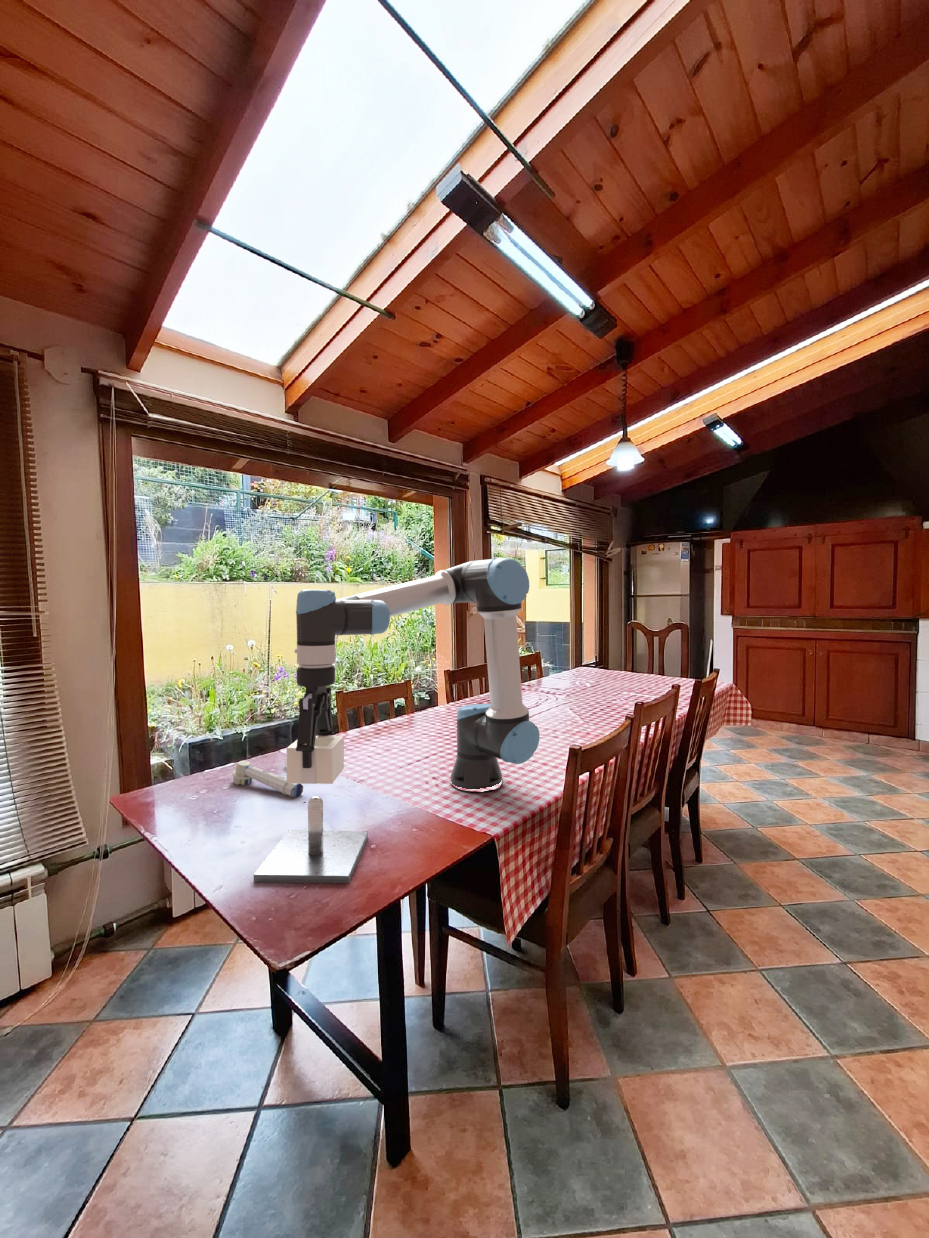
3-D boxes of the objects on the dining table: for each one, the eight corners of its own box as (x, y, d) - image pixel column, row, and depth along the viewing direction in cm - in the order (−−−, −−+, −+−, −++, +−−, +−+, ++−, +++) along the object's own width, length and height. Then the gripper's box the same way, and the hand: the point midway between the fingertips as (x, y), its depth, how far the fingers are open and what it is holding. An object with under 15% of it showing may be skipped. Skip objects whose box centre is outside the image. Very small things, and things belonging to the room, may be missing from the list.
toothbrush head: (291, 786, 132) (229, 759, 144) (288, 810, 133) (227, 781, 144) (306, 780, 137) (245, 754, 148) (303, 803, 138) (243, 775, 149)
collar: (343, 768, 107) (343, 735, 107) (332, 783, 98) (332, 748, 98) (302, 767, 107) (301, 735, 107) (286, 783, 98) (286, 747, 98)
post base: (367, 837, 112) (367, 780, 112) (348, 883, 94) (348, 815, 94) (288, 836, 112) (287, 780, 112) (253, 882, 94) (253, 814, 94)
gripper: (314, 658, 112) (314, 757, 113) (277, 672, 91) (277, 794, 92) (347, 659, 112) (347, 757, 113) (318, 673, 91) (318, 795, 92)
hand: (316, 774), depth 102 cm, fingers closed on collar, 9 cm apart
